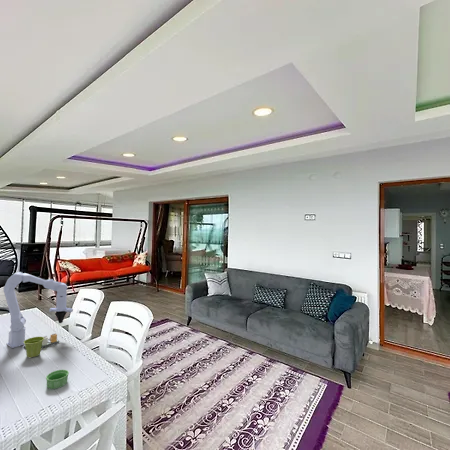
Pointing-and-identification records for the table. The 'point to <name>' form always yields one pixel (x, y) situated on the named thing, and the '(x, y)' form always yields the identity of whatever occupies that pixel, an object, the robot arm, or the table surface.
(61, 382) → the ramekin
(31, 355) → the plant pot
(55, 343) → the panel
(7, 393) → the table surface
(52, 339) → the breaker orange
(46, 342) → the white breaker
